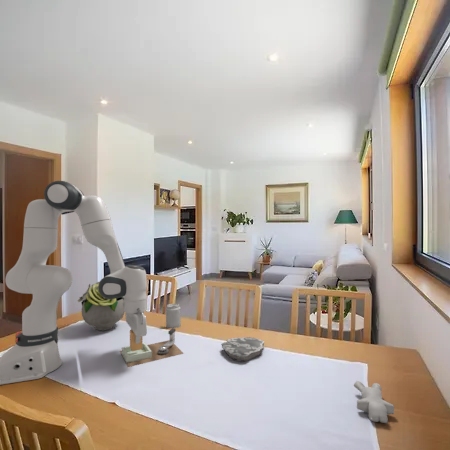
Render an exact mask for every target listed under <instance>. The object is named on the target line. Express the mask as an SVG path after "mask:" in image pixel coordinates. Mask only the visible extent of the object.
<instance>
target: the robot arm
mask: <svg viewBox="0 0 450 450" xmlns="http://www.w3.org/2000/svg"><path fill="white" fill-rule="evenodd" d="M43 196H44V198H43V199H42V198H40V199H35V200H34V199H33V200H32V201H30V202H29V203H28V205H27V208H26V211H25V215H24V221H23V235H22V236H23V238H22V239H23V240H22V248H21V251H20V255H19V257H18V260H17V261H16V263H15V264H14V266H13V267H12V268H10V269H9V270H8V271H7V273H6V276H5V280H4V281H5V285H6V286H7V289H9V290H11V291H14V292H16V293H20V294H26V295H28V294H29V295H30V294H31V295H32V299H31V302H30V305H29V306H27V307H26V308H25V309H24V310H23V311H22V314H21V316H22V317H21V319H22V320H21V324H22V325H21V326H22V327H21V328H22V329H21V331H17V332H16V333H15V335H14V336H15V344H14V345H13V346H12V347H10V349H8V350H7V351H6V352H4V353H3V354H2V355H1V356H0V385H8V384H12V383H21V382H26V381H31V380H38V379H41V378H44V377H45V376H46V375H47V374H50V373H51V372H53V371H55V370H57V369H58V368H60V367H61V366H62V364H63V361H62V359H61V354H60V351H59V345H58V344H59V335H60V334H59V327H58V325H57V324H58V323H57V321H58V319H57V314H58V306H59V304H60V301H61V298H62V296H63V295H64V294H65V293H66V292H67V291H68V290H69V289H70V287H71V285H72V283H73V275H72V272H71V271H70V270H69V269H68V268H66V267H63V266H60V265H52V264H50V265H49V264H47V262H48V259H49V257H50V255H51V254H53V253H55V251H56V250H57V249H58V233H59V229H58V228H59V218H60V216H61V215H67V214H71V213H76V215H77V216H78V219H79V222H80V226H81V229H82V233H83V235H84V237H85V239H86V242H87V243H89V244H90V245H92V246H95V248H98V249H99V250H101V252H102V253H103V254H104V257H105V258H106V262H107V265H108V267H109V271H110V273H109V274H107V275H105V276H104V277H103V278H101V279H100V280H99V281H98V282H99V285H98V290H99V293H100V294H101V296H102V297H104V298H106V299H115V298H120V297H123V298H124V302H123V306H124V315H125V322H126V324H127V325H128V326H129V328H130V330H133V332H134V333H135V343H136V344H138V343H140V338H141V337H142V338H143V337H145V336H147V333H148V331H147V330H148V329H147V328H148V327H147V318H146V314H145V312H146V311H147V310H148V296H147V289H148V281H147V280H148V279H147V272H146V269H145V268H144V267H143V266H140V265H138V264H137V265H136V264H128V265H126V264H125V261H124V258H123V257H124V256H123V255H122V252H121V249H120V247H119V244H118V241H117V237H116V235H115V230H114V227H113V223H112V220H111V215H110V214H109V213H110V212H109V211H108V207H107V206H106V203H105V201H104V199H103V198H102V197H101V196H98V195H94V194H93V195H92V194H90V195H85V194H84V192H83V191H82V190H81V189H80V188H79V187H77V186H76V185H75V184H72V183H69V182H68V181H65V180H56V181H55V180H54V181H52V182H49V184H48V185H47V186H46V187H45V189H44V193H43Z"/></svg>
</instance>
